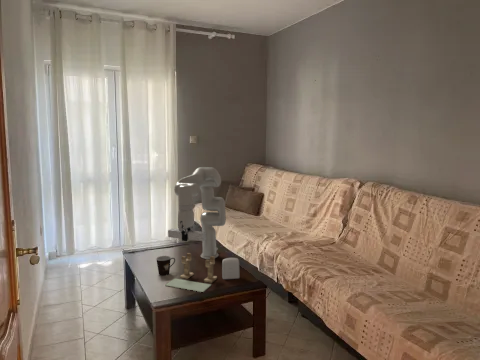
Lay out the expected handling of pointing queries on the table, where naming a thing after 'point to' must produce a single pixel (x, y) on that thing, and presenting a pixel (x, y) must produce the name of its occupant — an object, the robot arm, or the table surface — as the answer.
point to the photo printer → (230, 268)
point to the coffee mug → (164, 265)
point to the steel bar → (190, 234)
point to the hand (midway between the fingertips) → (186, 239)
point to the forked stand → (207, 263)
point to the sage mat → (188, 285)
